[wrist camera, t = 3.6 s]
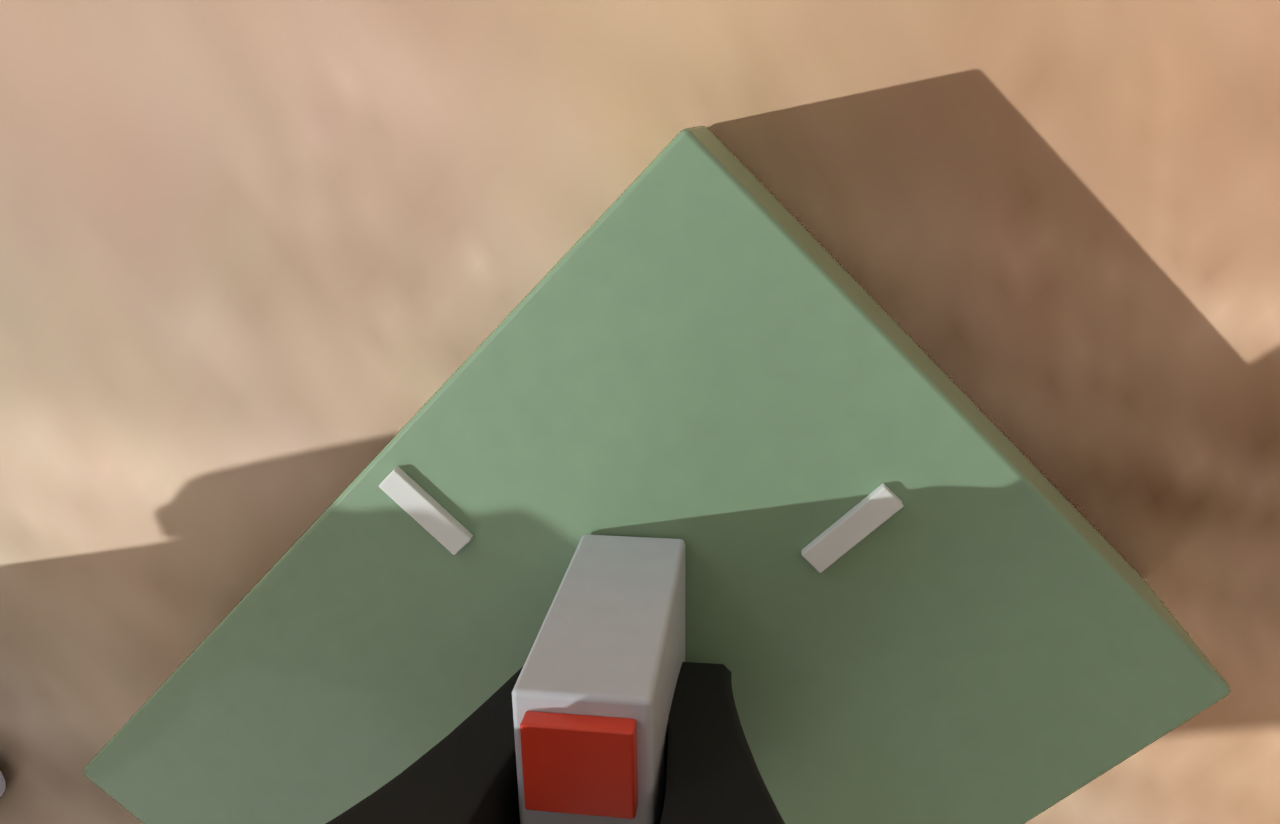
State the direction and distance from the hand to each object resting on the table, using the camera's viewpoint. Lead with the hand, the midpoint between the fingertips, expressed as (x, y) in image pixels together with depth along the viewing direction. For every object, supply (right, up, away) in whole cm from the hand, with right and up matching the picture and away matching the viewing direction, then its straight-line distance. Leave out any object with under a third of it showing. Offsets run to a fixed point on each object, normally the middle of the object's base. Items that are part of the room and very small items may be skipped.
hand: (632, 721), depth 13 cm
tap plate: (0, 0, +4) cm, 4 cm away
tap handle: (0, 0, 0) cm, 0 cm away
